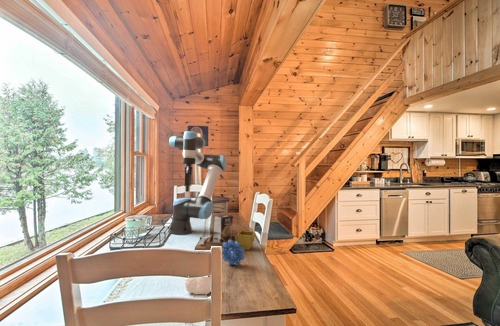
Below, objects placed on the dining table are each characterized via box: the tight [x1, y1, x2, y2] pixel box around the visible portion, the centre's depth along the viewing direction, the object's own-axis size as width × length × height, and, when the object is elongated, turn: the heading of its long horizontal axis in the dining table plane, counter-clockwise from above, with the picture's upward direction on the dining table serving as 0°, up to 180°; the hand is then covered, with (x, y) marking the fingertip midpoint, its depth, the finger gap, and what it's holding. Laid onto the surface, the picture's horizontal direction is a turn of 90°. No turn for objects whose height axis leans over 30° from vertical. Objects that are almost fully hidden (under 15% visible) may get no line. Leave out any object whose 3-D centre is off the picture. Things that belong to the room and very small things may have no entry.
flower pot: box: [236, 230, 256, 251], centre depth 141 cm, size 9×9×9 cm
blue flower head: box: [221, 239, 246, 266], centre depth 115 cm, size 12×7×12 cm, turn 95°
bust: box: [185, 277, 210, 296], centre depth 91 cm, size 12×8×11 cm
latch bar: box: [198, 236, 207, 244], centre depth 140 cm, size 10×2×2 cm, turn 2°
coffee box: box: [213, 214, 234, 243], centre depth 141 cm, size 9×6×16 cm
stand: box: [194, 233, 238, 251], centre depth 141 cm, size 16×22×5 cm
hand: (187, 196), depth 147 cm, fingers closed
